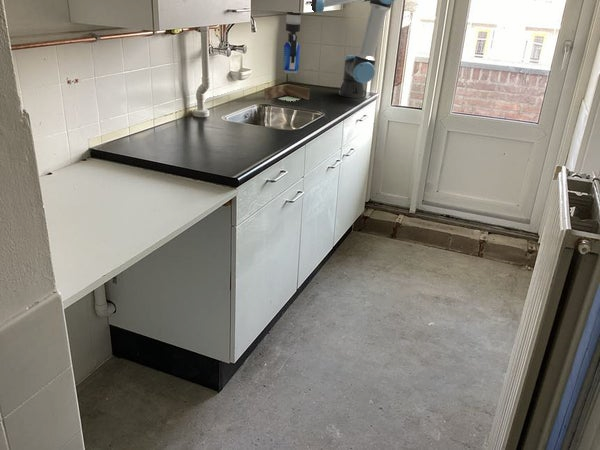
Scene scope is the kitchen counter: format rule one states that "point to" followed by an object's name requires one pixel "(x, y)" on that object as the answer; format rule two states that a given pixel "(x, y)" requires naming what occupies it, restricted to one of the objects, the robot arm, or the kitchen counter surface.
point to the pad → (289, 98)
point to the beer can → (287, 58)
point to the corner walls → (286, 91)
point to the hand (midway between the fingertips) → (290, 67)
